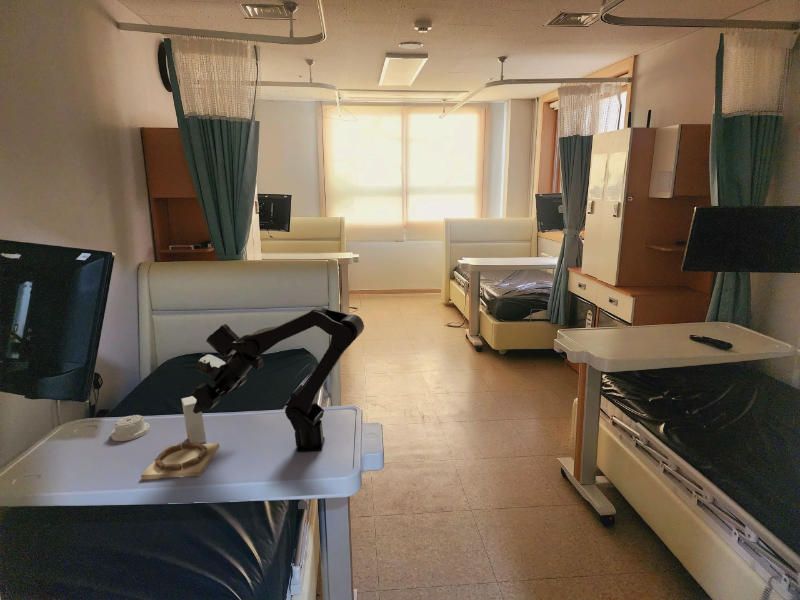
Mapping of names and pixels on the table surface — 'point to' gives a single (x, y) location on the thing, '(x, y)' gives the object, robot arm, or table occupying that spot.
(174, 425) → the table surface
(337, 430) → the table surface
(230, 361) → the robot arm
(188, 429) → the skincare box
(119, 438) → the mechanical component
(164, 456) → the board
